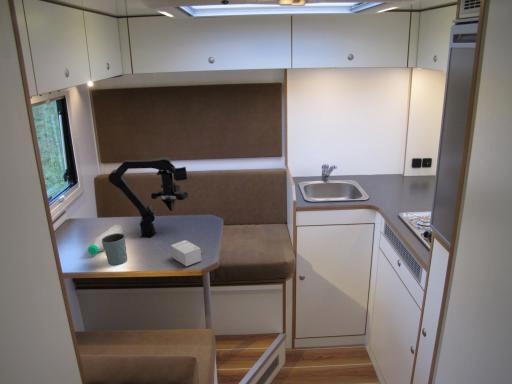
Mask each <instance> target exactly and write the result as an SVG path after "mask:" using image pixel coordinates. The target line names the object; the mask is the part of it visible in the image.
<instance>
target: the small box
mask: <svg viewBox="0 0 512 384" xmlns="http://www.w3.org/2000/svg"><path fill="white" fill-rule="evenodd" d="M170 250H171V258H173V259H175V261H177V262H178V263H179V262H180V264H182V265H184V267H188V266H190V265H193V264H197V263H199V262H201V261H202V254H201V250H202V249H201V247H199V246H197V245H195V244H193V243H192V242H190V241H189V240H185V239H184V240H181V241H179V242H176V243H173V244H171V245H170Z"/></svg>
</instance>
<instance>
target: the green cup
mask: <svg viewBox="0 0 512 384" xmlns="http://www.w3.org/2000/svg"><path fill="white" fill-rule="evenodd" d="M102 244H103V247H104V253H105V256H106V259H107V260H106V261H107V263H108V265H109V266H112V267H114V266H115V267H116V266H121V265H123V264H125V263H127V262H128V253H127V243H126V236H125V234H121V233H116V234H111V235H107V236H105V237H104V238H102Z"/></svg>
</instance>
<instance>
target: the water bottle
mask: <svg viewBox="0 0 512 384" xmlns="http://www.w3.org/2000/svg"><path fill="white" fill-rule="evenodd" d="M124 231H125V230H124V228H123V226H121V224H118V223H117V224H113V225H112V226H111V227H110V228H108V229H107V230H106V231H104V232H103V233H101V234H99V235H98V236H97V237H96V238H94V239H93V241H92V243H91V245H89V246H88V248H87V252H88V254H89V255H92V256H94V255H97V254H98V253H99V252H105V250H104V247H103V244H102V238H104V237H105V236H107V235H111V234H116V233H121V234H124V233H125V232H124ZM124 235H125V234H124Z"/></svg>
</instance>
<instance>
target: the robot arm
mask: <svg viewBox="0 0 512 384" xmlns="http://www.w3.org/2000/svg"><path fill="white" fill-rule="evenodd" d="M129 169H131V170H132V169H134V170H135V169H154V170H158V171H157V173H156V176H160V179H161V185H160V188H162V190H154V191H152V193H150V199H151V200H152V199H153V200H157V199H158V197H161V199H160V201H161V202H163V203H164V204H165V206H166V207H167V208H168V210H169V211H170V212H173V210H174V206H175V202H176V200H177V201H184V200H186V199H187V198H188V197H189V194H188V192H187V191H182V190H181V185H179V184H176V183H175V182H174V181H176V182H181V181H182V182H183V181H188V172H187V167H186V166H182V167H176V166H175V165H173V163H172V161H171V159H170V158H169V157H167V156H161V157H157V158H154V159H125V160H124V161H123V162H122V163H121V164H120V165H119V166H118V167H117V169H113V170H112V171H111V172H110V173H109V174H108V177H107V178H108V181H109V183H110V184H111V185H113V186H114V187H116V188H117V189H119V190H120V191H121V192H122V193H123V194H124V195H125V196H126V197H127V198H128V200H129V201H130V202H131V203H132V204H133V205H134V207H135V208H136V210H138V212H139V215H140V217H141V219H140V223H139V228H140V233H141V235H139V237H140V238H148V239H150V238H152V237H154V236H155V235H156V234H157V231H156V227H155V225H154V223H153V222H154V221H155V218H156V209H155V208H153V206H152V204H146V203H144V201H143V200H142V199H141V198H140V197H139V195H138V194H137V193H136V192H135V191H134V190H133V188H132V187H131V186H130V185H129V184H128V182H127V180H126V178H125V176H124V174H125V173H126V172H127V171H128V170H129ZM180 190H181V191H180Z"/></svg>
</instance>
